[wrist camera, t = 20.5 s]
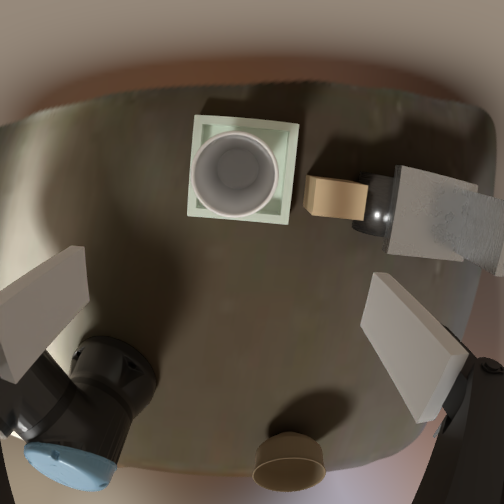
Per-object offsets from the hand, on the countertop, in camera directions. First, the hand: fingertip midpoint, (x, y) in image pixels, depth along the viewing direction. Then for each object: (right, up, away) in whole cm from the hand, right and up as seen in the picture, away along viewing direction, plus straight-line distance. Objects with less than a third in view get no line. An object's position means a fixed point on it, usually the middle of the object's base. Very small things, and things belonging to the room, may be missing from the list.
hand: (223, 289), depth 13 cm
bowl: (+7, -34, +39) cm, 52 cm away
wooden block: (+11, +9, +25) cm, 29 cm away
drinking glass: (0, +12, +24) cm, 27 cm away
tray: (0, +12, +24) cm, 27 cm away
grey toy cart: (+23, +8, +26) cm, 35 cm away
